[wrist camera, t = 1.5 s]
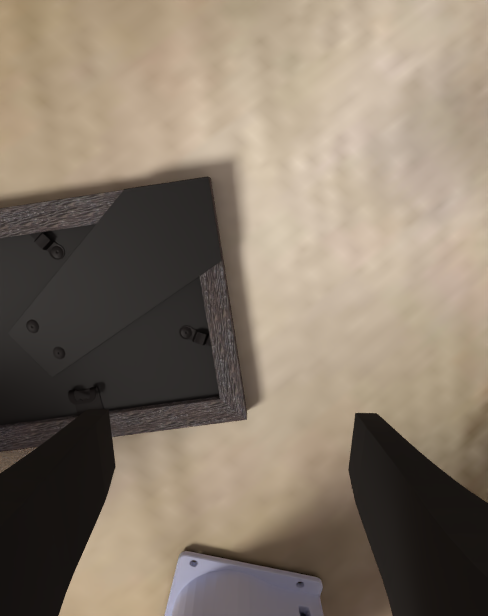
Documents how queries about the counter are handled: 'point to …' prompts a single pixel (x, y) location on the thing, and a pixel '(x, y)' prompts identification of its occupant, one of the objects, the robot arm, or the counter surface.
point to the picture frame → (116, 314)
